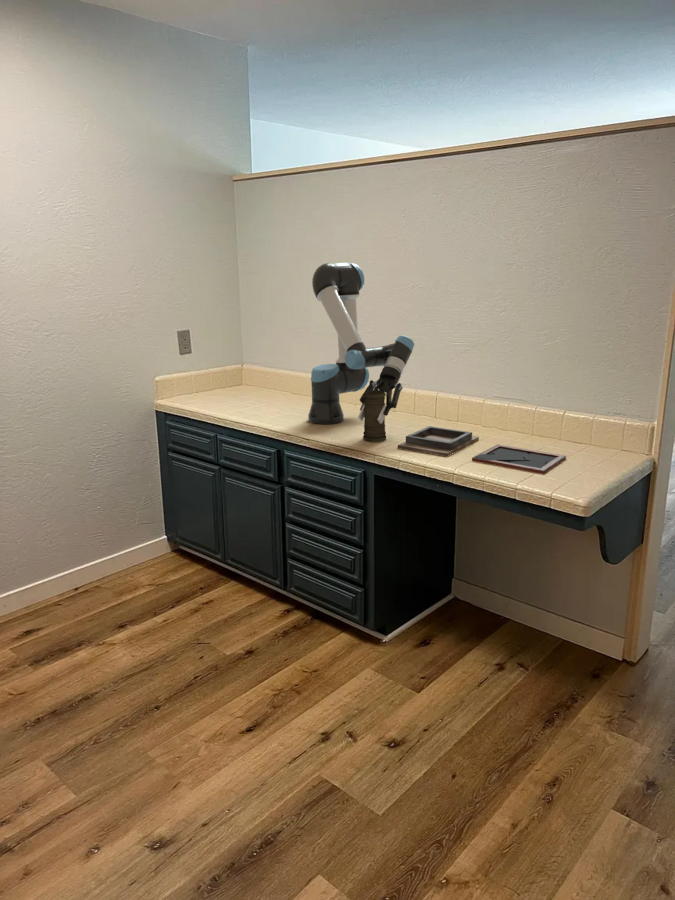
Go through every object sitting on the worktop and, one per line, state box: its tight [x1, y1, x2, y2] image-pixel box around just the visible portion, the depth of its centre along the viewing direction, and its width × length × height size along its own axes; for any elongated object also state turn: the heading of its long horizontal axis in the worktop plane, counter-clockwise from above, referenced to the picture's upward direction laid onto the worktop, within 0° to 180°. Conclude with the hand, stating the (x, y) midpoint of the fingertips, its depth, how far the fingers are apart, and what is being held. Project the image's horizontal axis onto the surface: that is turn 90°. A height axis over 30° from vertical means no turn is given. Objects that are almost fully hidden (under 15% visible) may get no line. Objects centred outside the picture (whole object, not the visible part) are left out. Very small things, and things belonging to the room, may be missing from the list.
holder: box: [397, 425, 480, 457], centre depth 249 cm, size 26×20×4 cm
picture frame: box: [471, 444, 567, 475], centre depth 229 cm, size 20×2×25 cm
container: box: [362, 391, 387, 443], centre depth 255 cm, size 9×9×18 cm
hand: (369, 420), depth 253 cm, fingers closed on container, 8 cm apart
